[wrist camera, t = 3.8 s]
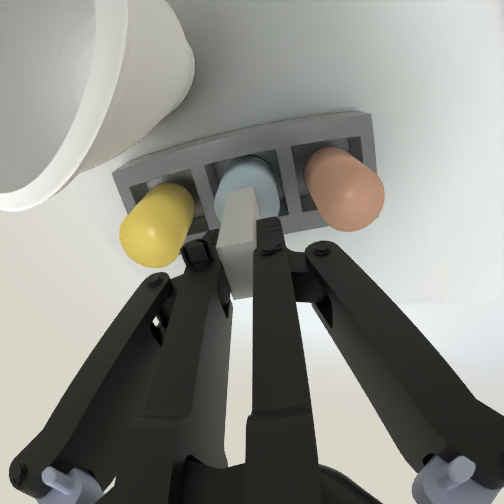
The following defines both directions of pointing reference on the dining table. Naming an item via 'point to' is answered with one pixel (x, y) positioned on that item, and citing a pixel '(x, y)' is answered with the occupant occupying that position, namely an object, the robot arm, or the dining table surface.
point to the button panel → (244, 143)
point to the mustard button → (158, 225)
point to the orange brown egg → (343, 189)
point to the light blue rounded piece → (246, 175)
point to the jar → (82, 87)
